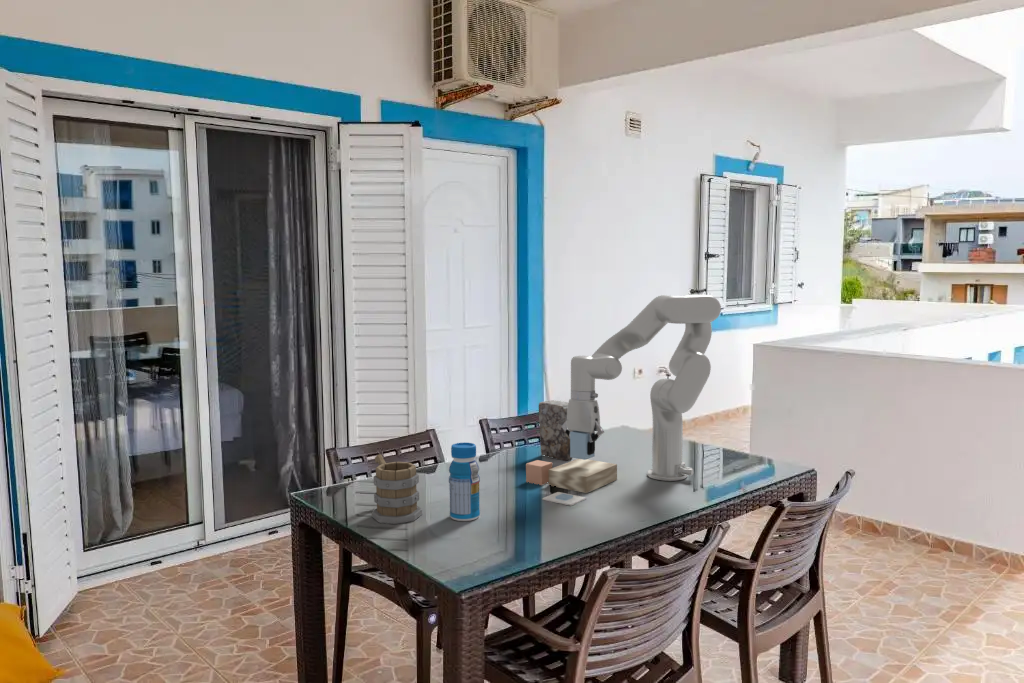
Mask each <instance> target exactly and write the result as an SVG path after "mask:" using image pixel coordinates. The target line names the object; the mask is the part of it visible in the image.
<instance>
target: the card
mask: <svg viewBox="0 0 1024 683" xmlns="http://www.w3.org/2000/svg"><path fill="white" fill-rule="evenodd" d="M541 499H542V501H547V502H551V503H556V504H560V505H566V506H570V507H571V506H573V505H576V504H579V503H580V502H582V501H585V500H587V497H585V496H581V495H580V496H579V495H574V494H570V493H565V492H562V491H561V492H560V491H557V492H554V493H552V494H549V495H546V496H545V497H543V498H541Z"/></svg>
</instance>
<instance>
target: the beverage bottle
mask: <svg viewBox="0 0 1024 683" xmlns="http://www.w3.org/2000/svg"><path fill="white" fill-rule="evenodd" d="M450 455H451V458H452V461H451V463H450V465H449V468H448V473H449V474H450V475H449V476H448V483H449V484H448V486H449V488H448V489H449V518H451V519H452V520H453V521H457V522H470V521H474V520H477V519H479V518H480V516H481V515H480V514H481V512H480V511H481V510H480V481H481V477H480V474H479V472H480V467H479V464H478V462H477V460H476V459H475V458H476V457H477V445H476V444H475V443H472V442H457V443H453V444H451V447H450Z"/></svg>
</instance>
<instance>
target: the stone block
mask: <svg viewBox="0 0 1024 683" xmlns="http://www.w3.org/2000/svg"><path fill="white" fill-rule="evenodd" d="M568 403H569V401H568V402H567V401H561V400H560V401H559V400H555V399H554V400H551V399H550V400H543V401H540V402H539V403H538V420H539V421H538V423H539V425H538V426H539V440H540V441H539V442H540V452H541V456H542V455H545V456H549V457H553V458H552V459H554V458H557V459H556V460H559V459H560V461H564V462H570V461H572V459H573V458H572V457H570V439H569V436H568V435H567V434H566V431H564V429H563V428H562V425H563V424H564V423H565V421H566V420H567V408H568ZM549 457H548V458H549Z"/></svg>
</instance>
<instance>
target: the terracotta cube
mask: <svg viewBox="0 0 1024 683" xmlns="http://www.w3.org/2000/svg"><path fill="white" fill-rule="evenodd" d="M552 468H553V462H552V461H550V462H549V461H544V460H539V459H535V460H532V461H530V462H527V463H526V464H525V474H526V475H525V483H528V482H529V483H528V484H533V483H534V485H538V484H539V486H543V485H546V484H548V483H547V482H549V476H548V470H549V469H552ZM545 483H546V484H545Z"/></svg>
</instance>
